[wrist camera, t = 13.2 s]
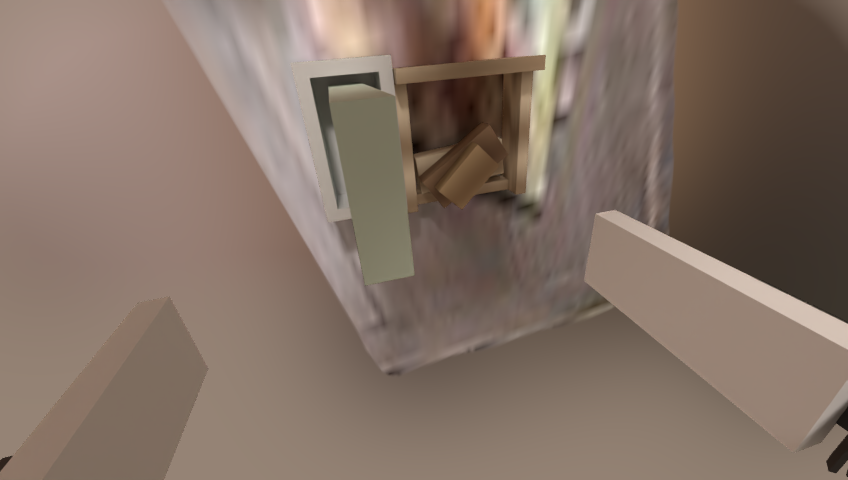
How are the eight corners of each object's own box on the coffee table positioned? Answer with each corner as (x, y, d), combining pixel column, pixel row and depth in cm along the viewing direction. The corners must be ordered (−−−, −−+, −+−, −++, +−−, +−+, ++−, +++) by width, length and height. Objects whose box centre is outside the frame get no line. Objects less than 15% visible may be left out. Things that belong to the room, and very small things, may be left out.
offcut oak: (434, 186, 36) (438, 191, 35) (471, 141, 35) (477, 144, 34) (457, 204, 38) (461, 209, 36) (493, 162, 36) (499, 165, 35)
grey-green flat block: (347, 185, 37) (364, 285, 20) (328, 85, 32) (328, 102, 15) (374, 180, 38) (414, 275, 20) (359, 82, 33) (394, 95, 16)
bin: (295, 64, 32) (290, 63, 27) (382, 56, 33) (390, 54, 29) (327, 205, 38) (327, 222, 34) (399, 193, 40) (407, 208, 35)
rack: (385, 68, 34) (395, 68, 28) (514, 57, 36) (545, 55, 31) (400, 200, 40) (411, 220, 35) (509, 182, 43) (534, 198, 37)
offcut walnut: (418, 177, 37) (422, 182, 36) (482, 122, 36) (489, 124, 35) (439, 202, 39) (444, 208, 37) (500, 150, 38) (508, 154, 37)
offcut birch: (410, 154, 38) (415, 159, 36) (492, 135, 40) (501, 138, 38) (417, 186, 40) (422, 193, 38) (494, 167, 42) (503, 173, 40)
